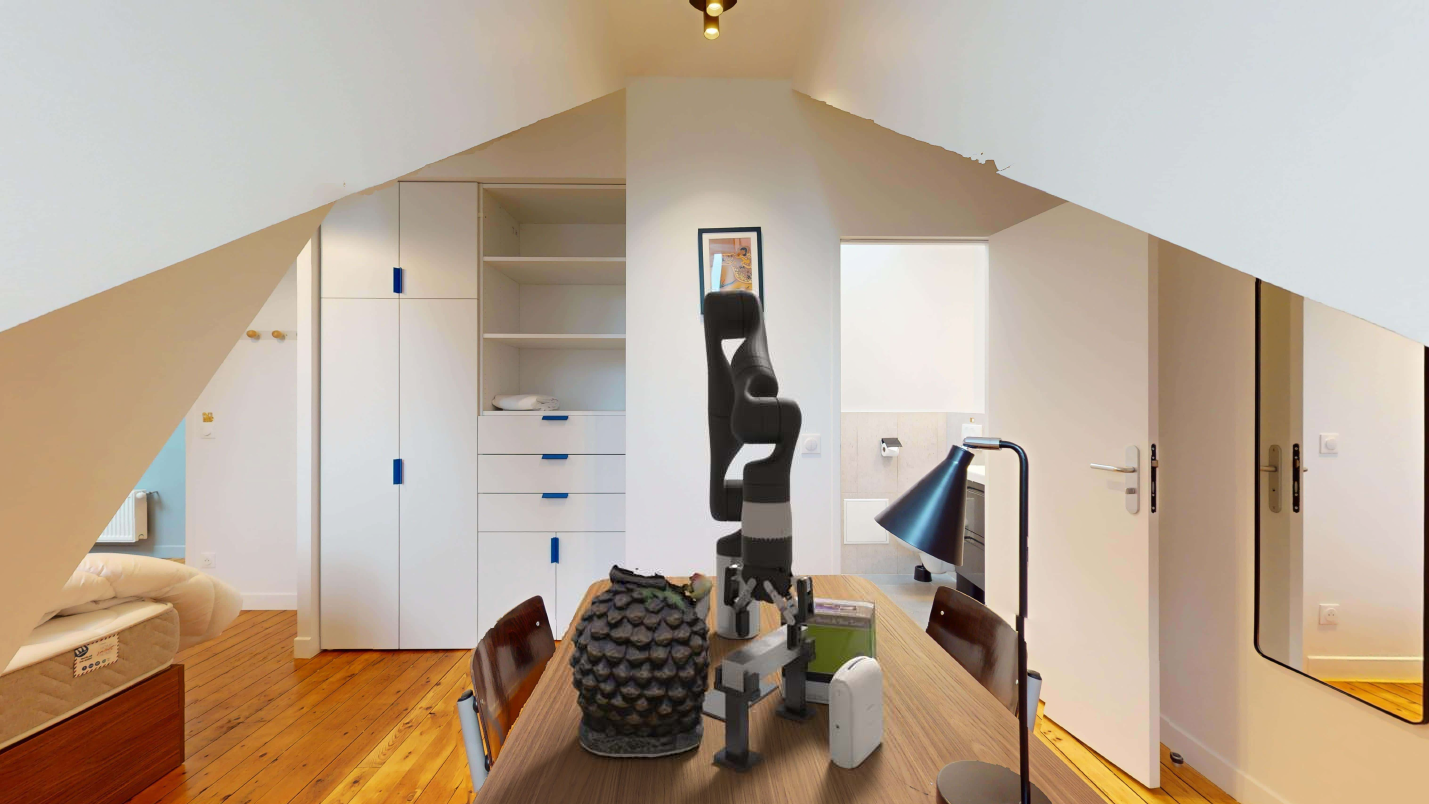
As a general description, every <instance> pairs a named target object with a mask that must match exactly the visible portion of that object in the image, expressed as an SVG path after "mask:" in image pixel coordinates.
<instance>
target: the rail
mask: <svg viewBox="0 0 1429 804" xmlns="http://www.w3.org/2000/svg"><path fill="white" fill-rule="evenodd" d="M787 624H789V623H787ZM787 624H785V625H784V626H782V627H781V626H780V627H778V628H777V629H775V630H772V631H771V632H769V633H767V634H765V635H764V636H761V637H760V638H758V639H756V640H754V641H752V642H750V643H748V644H747V645H744V646H743V647H741V648H739V649H738V650H735V651H733V652H732V653H730V654H728V655H726V656H725V657H723V658H721V664H722V685H724V686H727V687H730V688H733V689H736V690H739V691H742V692H744V691H745V690H746V677H748V676H749V675H751V674H752V673H754V672H755V673H758V674H759V681H761V680H762V679H763V680H765V679H766V678H767V677H769V676H770V675H773V673H775V672H776V671H778V670H779V669H781V667H782V666H784V665H786V664H787V663H789V662H790V661H792V660H793V659H795V658H796V657H798V656H799V655H801V654H803V653H804V641H806V640H808V627H804V626H802V642H801V645H799V647H798V648H797V649H796V650H794V651H790V650H788V649H787Z"/></svg>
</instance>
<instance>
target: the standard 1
mask: <svg viewBox="0 0 1429 804" xmlns="http://www.w3.org/2000/svg"><path fill="white" fill-rule="evenodd" d="M713 689H714V690H717V691H720V692H723V693H725V721H724V724H725V725H724V728H725V729H724V731H725V734H724V737H725V739H724V740H725V741H724V742H725V743H724V744H725V746H724V747H722V748H720V750H718V751H717V752H716V753H714V754H713V762H715V763H717V764H719V765H721V766H724V767H726V768H728V769H731V770H733V771H735V772H737V773H740V774H742V775H745V774H746V773H747V772H749V771H750V770H751V769H752V768H754V767H755V766H756V765H757V764H759V762H760V761H761V760H762V756H761V755H762V754H761V753H759V752H756V751H753V750H751V749H750V730H749V729H750V728H749V727H750V721H749V720H750V717H749V716H750V714H749V712H750V710H749V709H750V707H749V702H752V703H753V702H754V701H756V700H757V699H758V698H760V697H761V689H759V674H758V673H755V672H754V673H752V674H751V675H749V676H748V677H746V690H745V691H744V692H742V691H739V690H736V689H733V688H730V687H727V686H724V685H722V663H721V664H719V665H716V666H715V667H714V681H713Z"/></svg>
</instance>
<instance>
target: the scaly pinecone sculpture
mask: <svg viewBox="0 0 1429 804" xmlns="http://www.w3.org/2000/svg"><path fill="white" fill-rule="evenodd" d="M634 570H636V571H638V570H639V567H636V568H635V569H634ZM608 577H609V581H610V583H611V586H610V587H609V588H608V589H605V590H604V591H602V592H601V593H600V594H597V595H595V596H593V598H592V599H591V604H590V606H589V607H587V608H586V609H584V611H583V613H582V614H581V617H580V622H578V623H577V624H576V625H575V627H574V628H575V632H574V633H573V635H572V637H571V639H570V640H571V641H572V642H573V644H574V645H573V646H574V648H575V649H574V651H573V653H572V654H571V656H570V658H569V659H568V662H569V663H568V664H569V666H570V667H571V668H572V669H573V671H572V674H571V675H572V682H571V684H572V686H573V688H574V689H575V690H576V691H577V692H578V696H577V699H576V703H577V706H579V708H580V710H581V712H582V716H581V719H580V722H579V724H578V727H577V733H578V737H579V742H580V744H581V746H582V747H584V748H585V749H586V750H587V751H589V752H591V753H595V754H596V755H599V756H606V757H608V756H609V757H616V758H617V757H618V758H619V757H623V758H627V757H629V758H630V757H632V758H634V757H639V758H642V757H647V758H653V757H654V758H655V757H662V756H667V755H668V756H669V755H670V754H673V755H674V754H675V753H676V754H678V753H683V752H685V751H688V750H691V749H692V748H695V747H697V746H698V745H700V743H701V741H702V738H703V736H704V731H705V727H704V717H703V714H702V711H703V702H704V701H705V694H706V693H707V692H709V688H710V682H709V668H710V664H711V662H712V660H711V658H710V653H709V650H710V645H711V644H710V643H711V642H710V640H709V639H708V637H707V636H708V634H709V632H710V627H709V626H708V625H707V623H706V622H707V618H708V616H709V615H710V612H711V592H712V589H713V587H714V582H713V581H712V580H711V579H710V578H709V577H708V576H707V575H706V574H705V573H699V572H694V574H693V575H692V576H689V578H688V579H689V582H690V583H689V584H688V583H683V584H682V585H679V584H675V583H671V582H670V581H669V580H668V579H666V577H665V576H664V575H662V574H661V573H660V572H659V571H657V572H654V575H643V574H640V573H639V574H638V573H635V572H634V571H633V570H630V569H627V568H622V567H619V566H618V564H613V566H612V567H611V569H610V571H609V573H608ZM687 593H688V594H687Z"/></svg>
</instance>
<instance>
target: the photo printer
mask: <svg viewBox="0 0 1429 804" xmlns="http://www.w3.org/2000/svg"><path fill="white" fill-rule="evenodd" d="M883 697H884V695H883V670H882V668H881V665H880V664H879V662H878V661H876V660H875V659H873V658H869V657H866V656H860V657H856V658H854V659H852V660H850V661H848V662H847V663H845V664H844V665H843V666H842V667H841V668H840V669H839V670H838V671H837V673H836V674H835V675H834V677H833V678H832V680H831V683H830V686H829V704H828V712H829V713H828V714H829V716H828V717H829V718H828V719H829V757H830V759H831V760H832V761H833V763H834V764H835V765H837V766H838V767H840V768H843V769H852V768H853V769H855V768H856V767H858V766H859V765H861V763H862V762H863V761H865V760H866V759H867V758H868V757H869V755H871V754H872V753H873V752H874V751H875V750H876V749H877V748H878V746H879V745H880V744H881V743H882V740H883V737H884V711H883V710H884V709H883V708H884V707H883V706H884V704H883V702H884V701H883V700H884V699H883Z"/></svg>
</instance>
